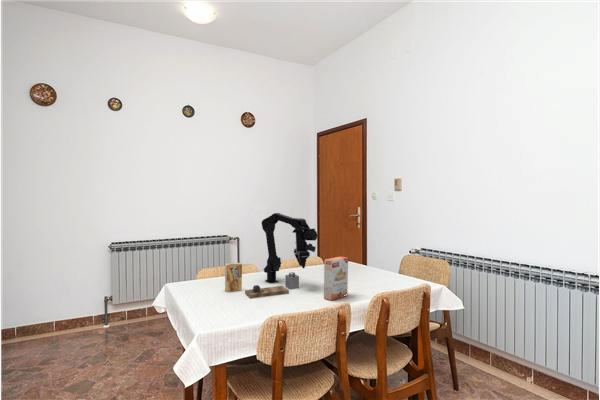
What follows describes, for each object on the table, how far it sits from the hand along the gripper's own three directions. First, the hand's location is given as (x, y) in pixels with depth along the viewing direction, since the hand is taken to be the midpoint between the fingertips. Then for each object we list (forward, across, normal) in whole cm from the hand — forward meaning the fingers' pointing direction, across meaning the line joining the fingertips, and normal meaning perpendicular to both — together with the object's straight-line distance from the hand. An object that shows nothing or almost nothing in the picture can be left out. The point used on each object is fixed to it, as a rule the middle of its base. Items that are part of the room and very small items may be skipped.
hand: (302, 267), depth 209 cm
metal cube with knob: (+12, +3, +6) cm, 14 cm away
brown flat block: (+12, -8, +22) cm, 26 cm away
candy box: (+11, +2, +40) cm, 41 cm away
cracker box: (+14, -21, -14) cm, 29 cm away
